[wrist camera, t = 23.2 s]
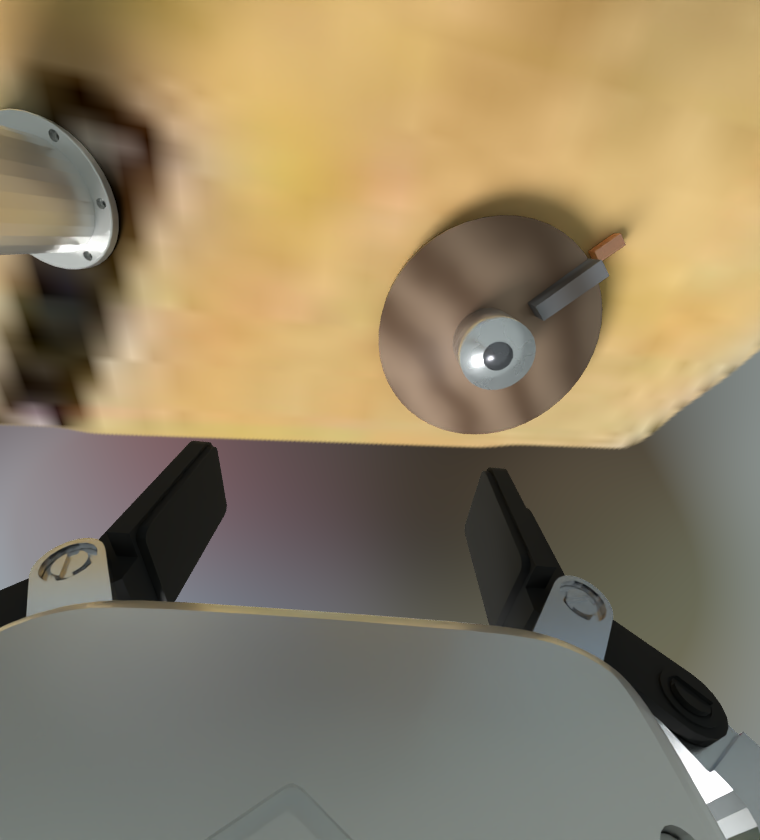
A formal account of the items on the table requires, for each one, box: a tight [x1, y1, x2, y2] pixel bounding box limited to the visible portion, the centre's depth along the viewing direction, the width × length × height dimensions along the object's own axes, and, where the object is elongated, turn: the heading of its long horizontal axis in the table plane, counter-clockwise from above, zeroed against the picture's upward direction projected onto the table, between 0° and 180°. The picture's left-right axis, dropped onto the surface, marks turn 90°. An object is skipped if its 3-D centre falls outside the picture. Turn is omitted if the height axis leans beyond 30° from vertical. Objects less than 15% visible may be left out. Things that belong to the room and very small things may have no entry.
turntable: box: [379, 215, 609, 434], centre depth 34 cm, size 22×22×4 cm
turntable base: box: [588, 233, 626, 261], centre depth 34 cm, size 16×16×1 cm
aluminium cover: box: [453, 308, 536, 390], centre depth 31 cm, size 6×6×5 cm
